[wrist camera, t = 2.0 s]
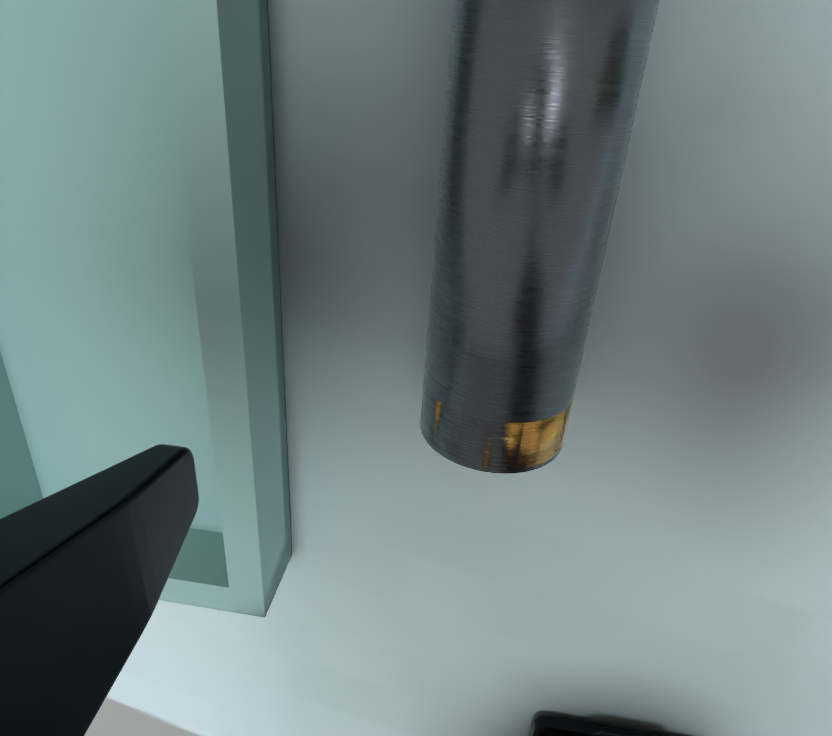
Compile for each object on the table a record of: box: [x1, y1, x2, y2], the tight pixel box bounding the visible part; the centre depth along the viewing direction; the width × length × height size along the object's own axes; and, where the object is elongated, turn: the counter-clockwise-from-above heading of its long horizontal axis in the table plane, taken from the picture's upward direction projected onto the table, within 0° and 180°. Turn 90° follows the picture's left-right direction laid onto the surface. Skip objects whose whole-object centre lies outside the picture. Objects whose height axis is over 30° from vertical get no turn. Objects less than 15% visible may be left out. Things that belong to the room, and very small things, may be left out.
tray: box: [0, 0, 292, 617], centre depth 15 cm, size 20×9×2 cm, turn 176°
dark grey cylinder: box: [420, 0, 659, 473], centre depth 11 cm, size 14×3×3 cm, turn 176°
